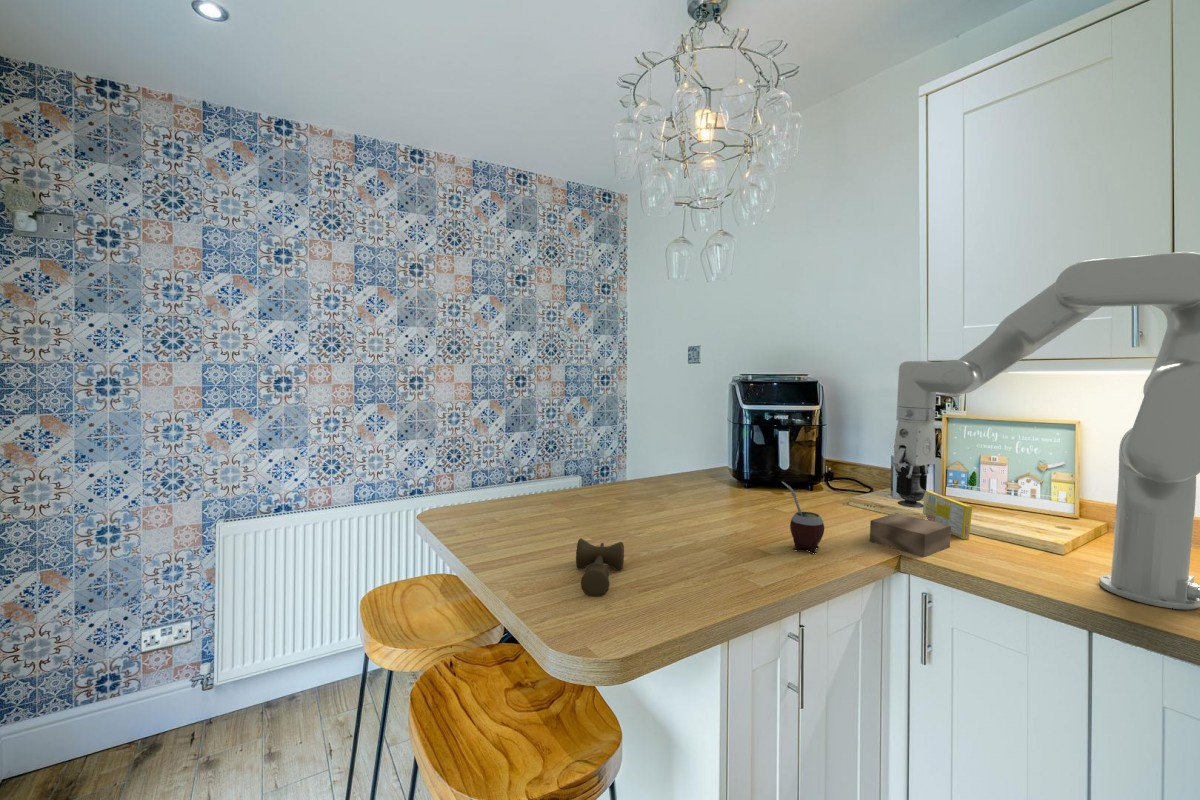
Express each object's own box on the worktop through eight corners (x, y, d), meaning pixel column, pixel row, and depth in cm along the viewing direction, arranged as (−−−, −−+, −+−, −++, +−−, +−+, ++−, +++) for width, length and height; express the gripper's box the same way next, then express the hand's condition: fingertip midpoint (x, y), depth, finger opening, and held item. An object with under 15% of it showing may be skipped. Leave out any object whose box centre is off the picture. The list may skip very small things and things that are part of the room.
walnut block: (949, 547, 118) (950, 525, 117) (924, 557, 111) (925, 534, 111) (896, 532, 128) (896, 512, 127) (869, 541, 121) (870, 520, 121)
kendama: (567, 599, 91) (579, 555, 111) (621, 603, 90) (624, 558, 110) (568, 567, 90) (580, 528, 110) (622, 570, 90) (625, 531, 110)
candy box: (971, 540, 123) (972, 506, 123) (962, 539, 123) (963, 506, 123) (929, 520, 139) (930, 489, 139) (921, 519, 139) (922, 489, 139)
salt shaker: (929, 509, 115) (932, 456, 115) (900, 507, 117) (903, 454, 116) (920, 502, 121) (922, 452, 120) (892, 500, 123) (895, 450, 122)
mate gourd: (830, 553, 113) (832, 486, 112) (799, 556, 111) (801, 488, 110) (808, 542, 120) (810, 479, 119) (778, 545, 118) (780, 480, 117)
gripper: (913, 418, 110) (909, 501, 111) (951, 414, 119) (946, 491, 120) (878, 415, 116) (874, 493, 117) (916, 412, 125) (912, 484, 127)
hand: (911, 491), depth 119 cm, fingers closed on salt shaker, 5 cm apart
